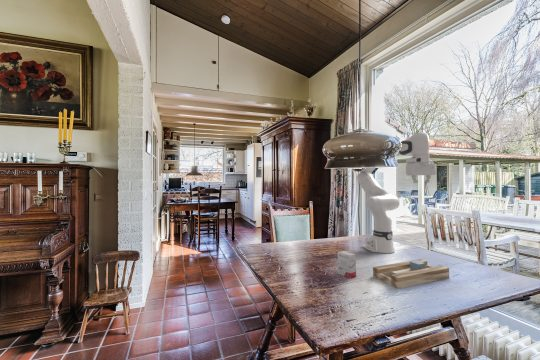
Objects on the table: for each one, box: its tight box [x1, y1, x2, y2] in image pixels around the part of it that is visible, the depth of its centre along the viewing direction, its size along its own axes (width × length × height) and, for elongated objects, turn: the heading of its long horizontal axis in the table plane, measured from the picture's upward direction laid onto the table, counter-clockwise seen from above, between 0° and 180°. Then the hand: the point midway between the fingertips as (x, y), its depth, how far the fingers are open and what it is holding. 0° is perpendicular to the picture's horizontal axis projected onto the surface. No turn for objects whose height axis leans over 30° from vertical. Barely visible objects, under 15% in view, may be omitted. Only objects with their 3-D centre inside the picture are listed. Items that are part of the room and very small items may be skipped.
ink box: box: [336, 250, 357, 279], centre depth 135 cm, size 9×5×12 cm, turn 33°
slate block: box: [409, 259, 426, 271], centre depth 133 cm, size 5×5×4 cm
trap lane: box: [372, 258, 450, 289], centre depth 131 cm, size 16×34×5 cm, turn 110°
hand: (421, 183), depth 151 cm, fingers open, 8 cm apart
